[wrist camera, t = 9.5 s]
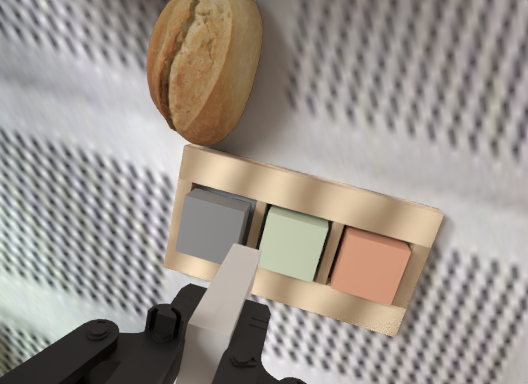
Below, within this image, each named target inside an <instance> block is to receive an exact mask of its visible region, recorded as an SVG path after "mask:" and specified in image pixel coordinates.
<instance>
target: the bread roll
mask: <svg viewBox="0 0 528 384" xmlns="http://www.w3.org/2000/svg"><path fill="white" fill-rule="evenodd" d="M262 36H263V25H262V18H261V15H260V10H259V8H258V6H257V4H256V3H255V1H254V0H170V1H169V2H168V3H167V5H166V6H165V8H164V9H163V10H162V12H161V14H160V16H159V18H158V20H157V22H156V24H155V26H154V29H153V32H152V36H151V40H150V44H149V49H148V55H147V78H148V85H149V90H150V95H151V98H152V100H153V102H154V104H155V105H156V107H157V109H158V110H159V111H160V113H161V114H162V115H163V117H164V118H165V119H166V121H167V123H168V125H169V127H170V128H171V129H173V130H174V131H176V132H177V133H179V134H180V135H181V136H182V137H183V138H185V139H186V140H187V141H189V142H191V143H192V144H195V145H198V146H209V145H212V144H215V143H217V142H219V141H221V140H223V139H224V138H225V137H226V136H227V135H228V134H229V133H230V132H231V131H232V130H233V129H234V127H235V126H236V124H237V123H238V121H239V119H240V117H241V116H242V113H243V111H244V109H245V106H246V103H247V101H248V98H249V95H250V92H251V89H252V86H253V82H254V79H255V75H256V71H257V67H258V62H259V58H260V52H261V47H262Z"/></svg>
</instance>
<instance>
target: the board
mask: <svg viewBox="0 0 528 384" xmlns="http://www.w3.org/2000/svg"><path fill="white" fill-rule="evenodd" d="M198 184H201V185H204V186H208V187H211V188H215V189H219V190H222V191H226V192H230V193H233V194H237V195H240V196H244V197H248V198H251V199H255V200H257V203H256V207H255V211H254V216H253V220H252V224H251V228H250V232H249V236H248V241H247V245H246V247H250V248H253V249H257V246H258V242H259V238H260V234H261V230H262V226H263V222H264V218H265V214H266V210H267V206H268V203H269V204H273V205H277V206H280V207H284V208H288V209H291V210H295V211H298V212H302V213H306V214H309V215H313V216H317V217H320V218H324V219H327V220H331V221H332V223H331V227H330V230H329V233H328V236H327V240H326V243H325V246H324V249H323V253H322V256H321V259H320V263H319V266H318V269H317V272H316V273H315V274H314V277H313V281H312V283H311V282H308V281H304V280H301V279H297V278H294V277H291V276H287V275H284V274H281V273H277V272H274V271H270V270H267V269H264V268H260V267H258V269H257V273H256V277H255V280H254V284H253V288H252V292H251V294H254V295H257V296H261V297H264V298H267V299H270V300H274V301H277V302H280V303H284V304H287V305H290V306H294V307H297V308H300V309H303V310H307V311H310V312H313V313H317V314H320V315H323V316H326V317H330V318H333V319H336V320H340V321H343V322H346V323H349V324H353V325H356V326H359V327H363V328H366V329H369V330H373V331H376V332H379V333H382V334H386V335H389V336H392V337H395V336H396V334H397V332H398V329H399V327H400V324H401V322H402V319H403V317H404V314H405V312H406V309H407V307H408V304H409V302H410V299H411V297H412V294H413V292H414V289H415V287H416V284H417V282H418V279H419V277H420V274H421V272H422V269H423V267H424V264H425V262H426V259H427V257H428V254H429V252H430V249H431V247H432V244H433V242H434V239H435V237H436V234H437V232H438V229H439V227H440V224H441V222H442V219H443V217H444V214H443V213H442V212H441V211H440V210H439V209H437V208H433V207H429V206H426V205H422V204H418V203H414V202H411V201H407V200H403V199H399V198H395V197H392V196H388V195H384V194H380V193H377V192H373V191H369V190H365V189H361V188H358V187H354V186H350V185H346V184H343V183H339V182H335V181H331V180H327V179H324V178H320V177H316V176H312V175H309V174H305V173H301V172H297V171H293V170H290V169H286V168H282V167H278V166H274V165H271V164H267V163H263V162H259V161H256V160H252V159H248V158H244V157H240V156H237V155H233V154H229V153H225V152H222V151H218V150H214V149H210V148H206V147H203V146H198V145H195V144H188V145H185V146H184V150H183V156H182V162H181V168H180V174H179V179H178V185H177V191H176V197H175V203H174V209H173V215H172V221H171V227H170V233H169V238H168V244H167V250H166V256H165V262H164V267H165V268H168V269H172V270H175V271H178V272H182V273H185V274H188V275H191V276H195V277H198V278H201V279H205V280H208V281H211V282H212V280H213V278H214V277H215V275H216V273H217V271H218V270H219V268H220V266H221V265H220V264H217V263H213V262H210V261H207V260H203V259H200V258H197V257H193V256H190V255H187V254H183V253H180V252H177V251H175V249H176V244H177V238H178V232H179V227H180V221H181V215H182V210H183V204H184V198H185V195H186V194H188V193H189V192H191V191H192V190H194V189H195V188H197V185H198ZM344 224H346V225H349V226H353V227H356V228H360V229H364V230H367V231H371V232H375V233H378V234H382V235H385V236H389V237H393V238H396V239H400V240H404V241H407V242H408V244H407V245H408V247H409V249H410V251H411V255H410V257H409V260H408V262H407V265H406V268H405V270H404V273H403V275H402V278H401V281H400V283H399V286H398V288H397V291H396V294H395V296H394V299H393V301H392V304H391V306H389V305H385V304H382V303H379V302H375V301H372V300H368V299H365V298H362V297H358V296H355V295H352V294H348V293H345V292H341V291H338V290H335V289H331V278H330V277H328V274H329V271H330V268H331V265H332V262H333V258H334V255H335V252H336V249H337V246H338V243H339V240H340V236H341V233H342V230H343V227H344Z"/></svg>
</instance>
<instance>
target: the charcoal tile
mask: <svg viewBox="0 0 528 384" xmlns="http://www.w3.org/2000/svg"><path fill="white" fill-rule="evenodd" d="M250 207H251V203H248V202H245V201H241V200H237V199H234V198H230V197H227V196H223V195H219V194H216V193H212V192H209V191H205V190H201V189H198V188H195V189H194V190H192V191H191V192H189V193H188V194H186V195H185V198H184V204H183V210H182V215H181V221H180V227H179V232H178V238H177V244H176V249H175V251H177V252H180V253H183V254H187V255H190V256H193V257H197V258H200V259H203V260H207V261H210V262H213V263H217V264H220V265H221V264H222V263H223V261H224V259H225V258H226V256H227V254H228V252H229V251H230V249H231V247H232V245H233V244H234V243H236V244H239V245H242V241H243V237H244V233H245V228H246V224H247V220H248V216H249V211H250Z"/></svg>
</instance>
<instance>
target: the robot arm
mask: <svg viewBox="0 0 528 384" xmlns="http://www.w3.org/2000/svg"><path fill="white" fill-rule="evenodd" d="M261 253H262V251H260V250H257V249H253V248H250V247H246V246H243V245H239V244H236V243H234V244H233V245H232V247H231V249H230V251H229V252H228V254H227V256H226V258H225V259H224V261H223V263H222V264H221V266H220V268H219V270H218V271H217V273H216V275H215V277H214V278H213V280H212V282H211V284H210V285H209V287H208V289H207V288H204V287H201V286H197V285H194V284H191V283H190V284H188V285H187V286H185V287H183V288H181V290H180V291H179V293H178V294H177V295H176V297H175V298H174V300H173V301H172V303H171V304H158V305H156V306H153V307H152V308H150V309H149V310H148V313H147V320H146V326H145V330H144V332H140V333H119V328H118V326H117V325H116V324H115V323H114V322H112V321H109V320H106V319H97V320H91V321H89V322H87V323H84V324H83V325H81V326H80V327H78V328H76V329H75V330H73V331H72V332H70V333H69V334H67V335H66V336H64V337H63V338H61V339H59V340H58V341H56V342H55V343H53V344H52V345H50V346H49V347H47V348H45V349H44V350H42V351H41V352H39V353H38V354H36V355H35V356H33V357H32V358H30V359H28V360H27V361H25V362H24V363H22V364H21V365H19V366H18V367H16V368H15V369H13V370H11V371H10V372H8V373H7V374H5V375H4V376H2V377H1V378H0V384H173V383H174V381H175V379H176V377H177V380H176V384H307V383H305V382H303V381H302V380H300V379H297V378H293V377H287V378H284V379H282V380H280V381H279V380H277V379H276V378H274V377H273V376H271V375H270V374H269V373H268V372H267V371H266V370H265V369H264V367H263V365H262V362H261V354H262V350H263V346H264V341H265V337H266V333H267V328H268V324H269V320H270V315H271V314H270V311H269V308H268V306H267V305H264V304H260V303H257V302H254V301H250V300H249V299H250V296H251V292H252V288H253V284H254V280H255V277H256V273H257V269H258V265H259V261H260V257H261Z"/></svg>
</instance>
